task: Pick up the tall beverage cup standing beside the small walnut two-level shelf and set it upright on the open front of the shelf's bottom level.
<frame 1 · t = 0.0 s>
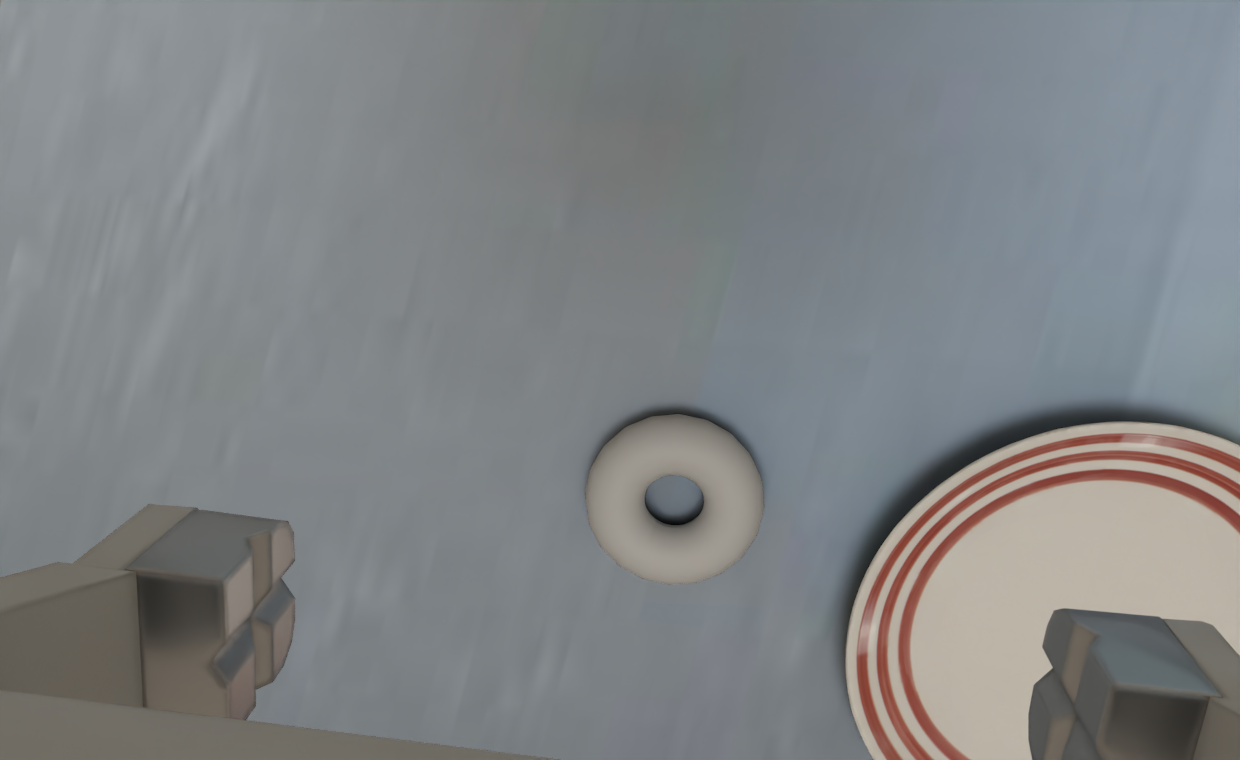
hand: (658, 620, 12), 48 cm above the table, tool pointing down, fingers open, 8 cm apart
donut: (675, 487, 63), on the table
dinner plate: (1080, 629, 63), on the table
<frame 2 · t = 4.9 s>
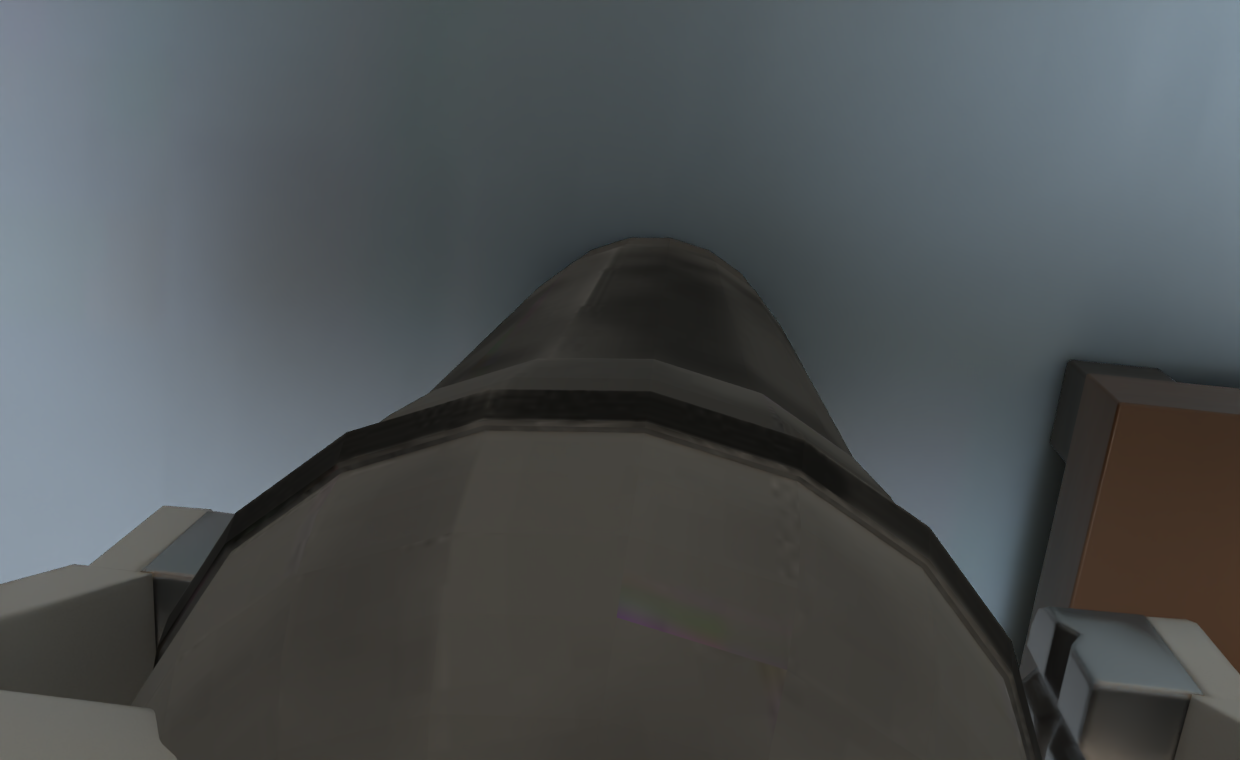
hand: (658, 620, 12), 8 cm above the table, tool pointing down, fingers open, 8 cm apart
beverage cup: (651, 357, 20), on the table, touching arm, gripper
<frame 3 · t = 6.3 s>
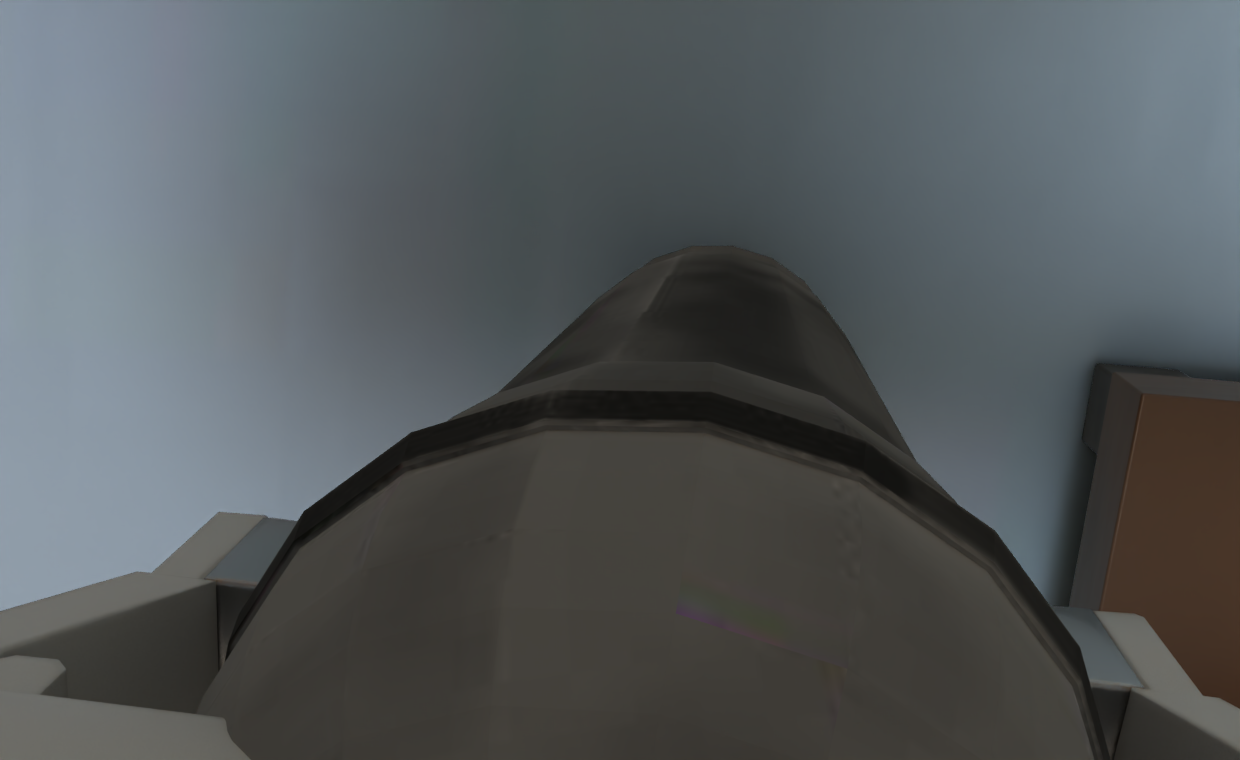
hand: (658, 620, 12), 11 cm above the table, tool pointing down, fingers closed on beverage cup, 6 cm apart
beverage cup: (713, 365, 20), point 2 cm above the table, touching arm, gripper
when the fingers open (12 cm above the table, at t = 14.0 s): beverage cup stays where it is, point 3 cm above the table.
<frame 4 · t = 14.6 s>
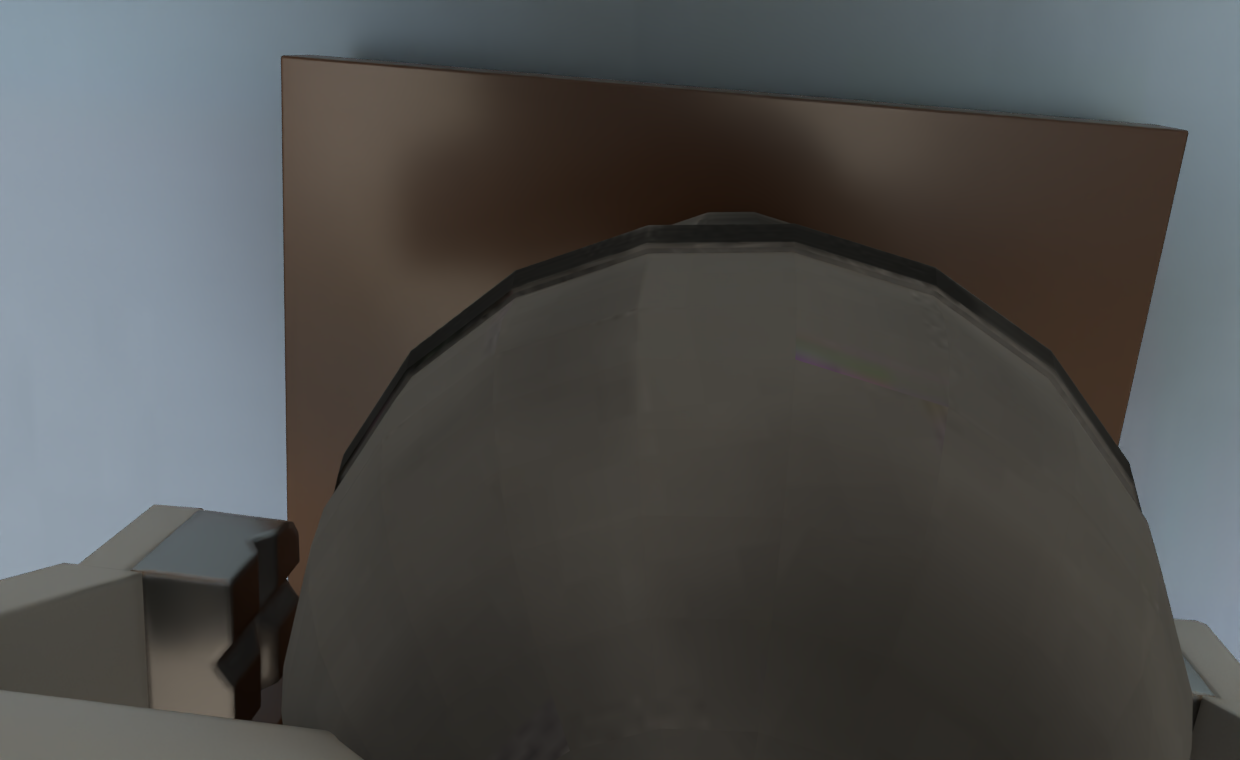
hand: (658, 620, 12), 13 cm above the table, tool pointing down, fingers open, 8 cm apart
beverage cup: (731, 329, 21), point 3 cm above the table, touching gripper
shelf: (688, 434, 24), on the table
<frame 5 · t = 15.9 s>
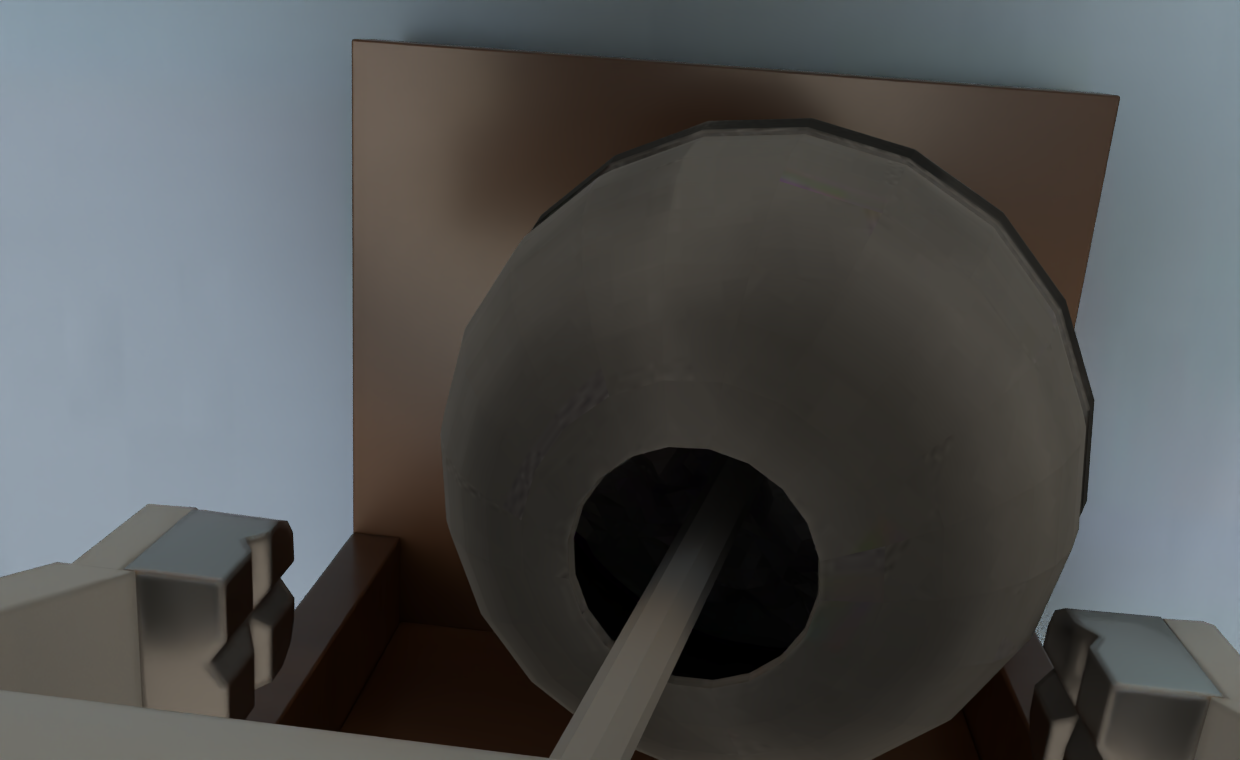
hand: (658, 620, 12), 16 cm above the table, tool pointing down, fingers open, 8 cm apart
beverage cup: (837, 284, 24), point 3 cm above the table, touching gripper, shelf
shelf: (698, 370, 28), on the table
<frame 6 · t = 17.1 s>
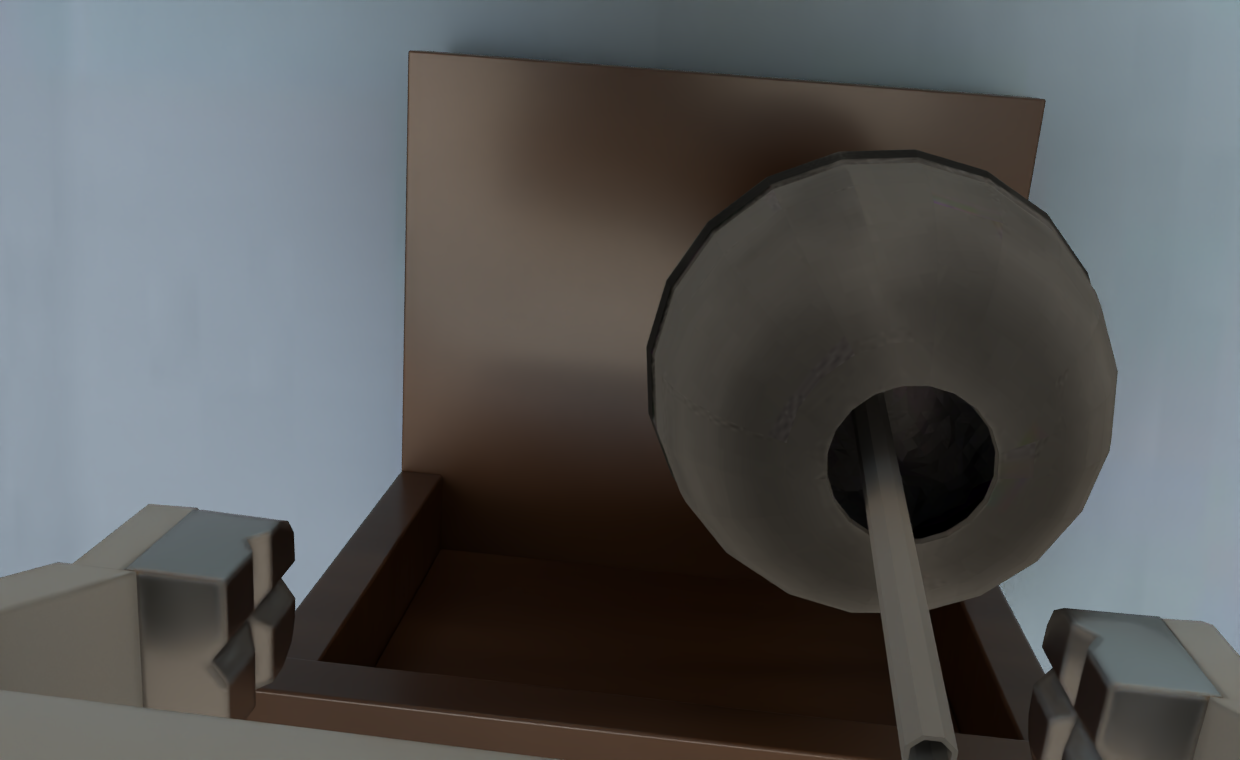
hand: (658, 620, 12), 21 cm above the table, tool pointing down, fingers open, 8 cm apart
beverage cup: (812, 253, 29), point 3 cm above the table, touching shelf
shelf: (696, 334, 33), on the table
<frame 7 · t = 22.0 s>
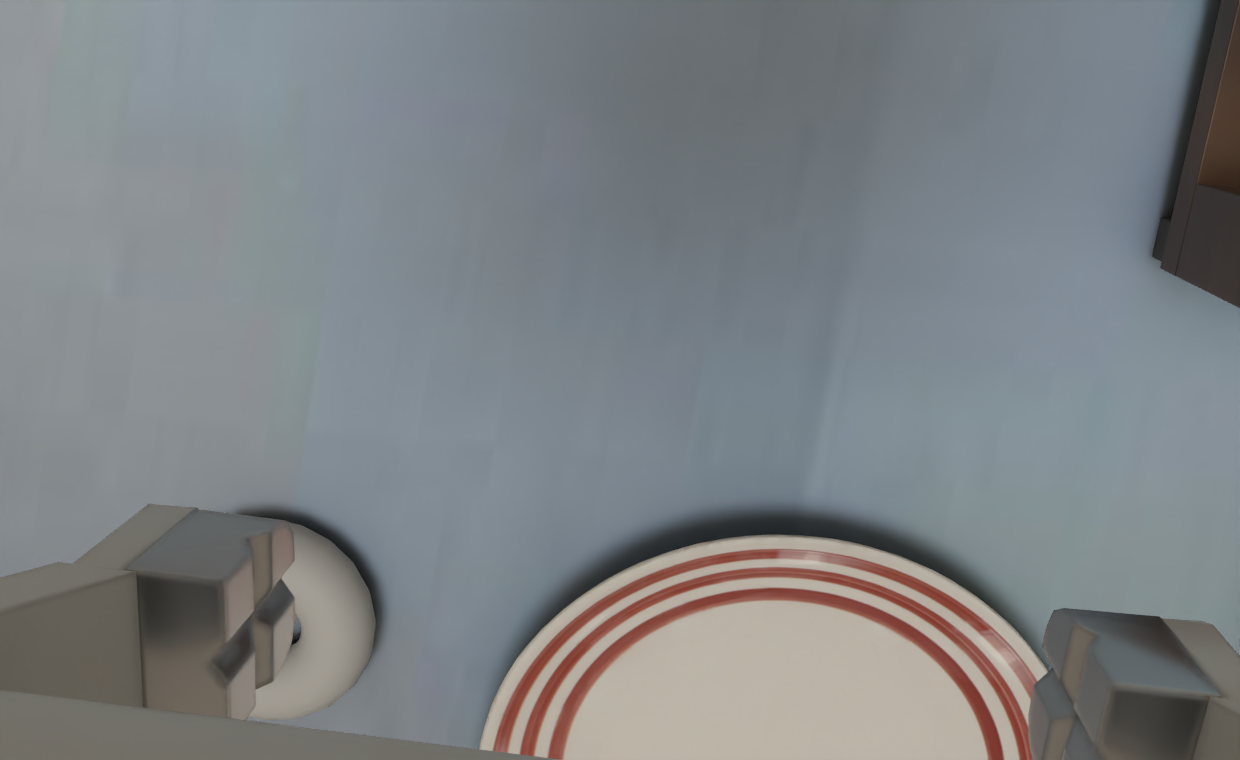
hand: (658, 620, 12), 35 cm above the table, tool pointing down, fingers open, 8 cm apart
donut: (283, 600, 53), on the table
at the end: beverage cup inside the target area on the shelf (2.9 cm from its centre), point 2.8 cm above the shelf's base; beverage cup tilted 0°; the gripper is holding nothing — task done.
